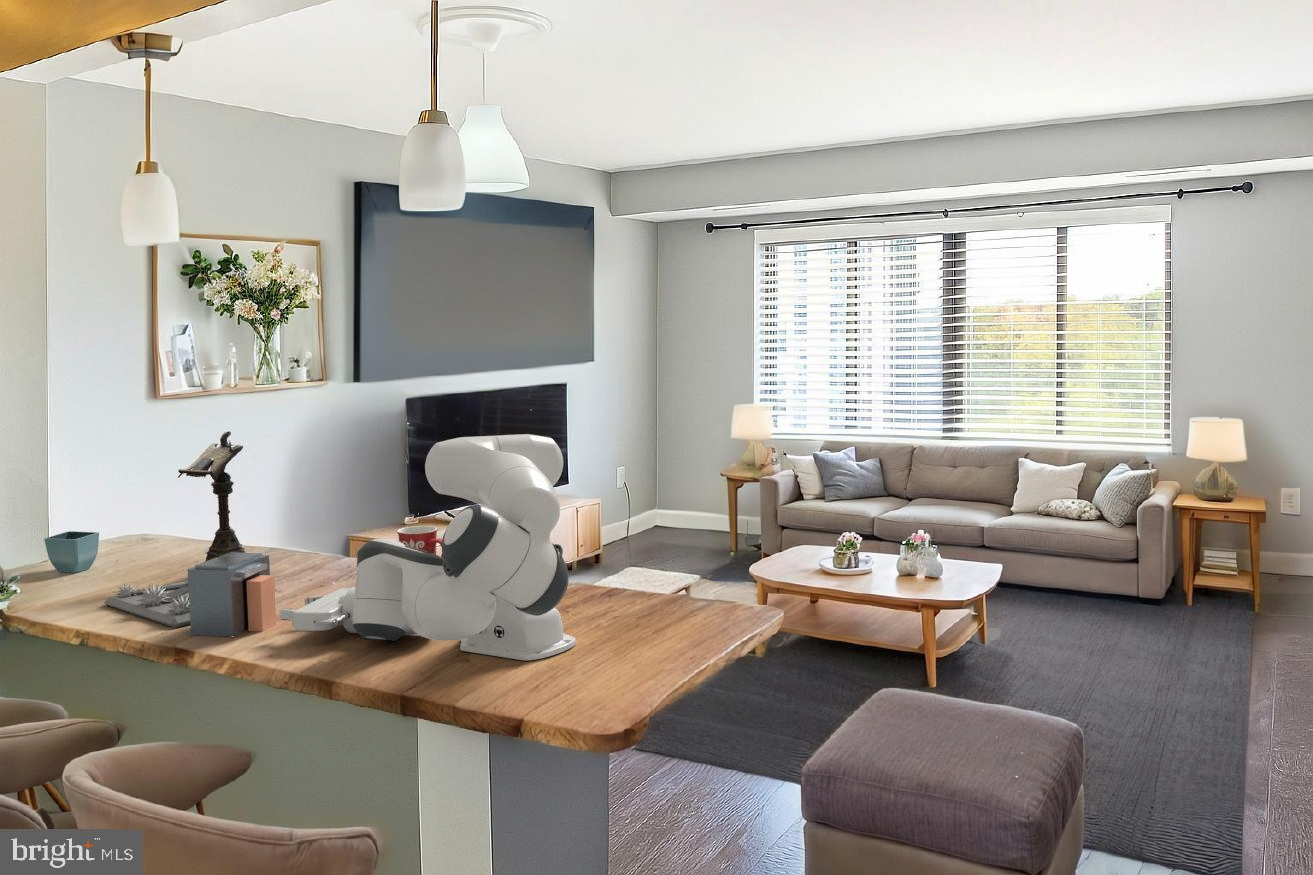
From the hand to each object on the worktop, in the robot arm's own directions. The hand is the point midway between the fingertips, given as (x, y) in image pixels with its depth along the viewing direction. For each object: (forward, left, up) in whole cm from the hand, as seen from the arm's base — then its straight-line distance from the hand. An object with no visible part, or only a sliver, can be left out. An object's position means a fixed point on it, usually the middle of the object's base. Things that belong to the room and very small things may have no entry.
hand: (294, 607), depth 207 cm
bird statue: (+54, -17, -5) cm, 57 cm away
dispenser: (+13, +5, -5) cm, 15 cm away
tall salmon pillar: (+7, +2, -5) cm, 9 cm away
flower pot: (+89, +1, -5) cm, 89 cm away
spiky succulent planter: (+35, +3, -5) cm, 36 cm away
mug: (+5, -38, -5) cm, 38 cm away
